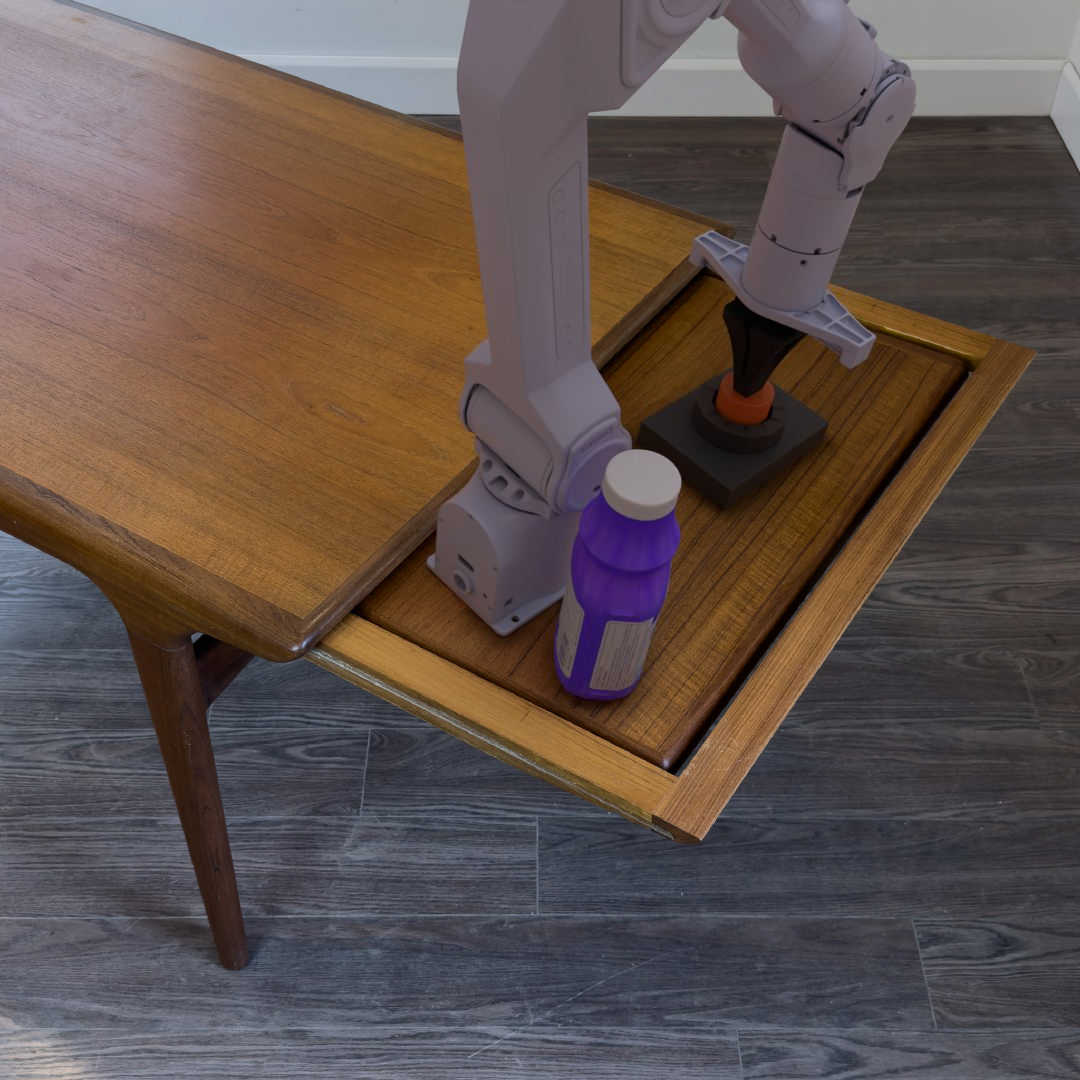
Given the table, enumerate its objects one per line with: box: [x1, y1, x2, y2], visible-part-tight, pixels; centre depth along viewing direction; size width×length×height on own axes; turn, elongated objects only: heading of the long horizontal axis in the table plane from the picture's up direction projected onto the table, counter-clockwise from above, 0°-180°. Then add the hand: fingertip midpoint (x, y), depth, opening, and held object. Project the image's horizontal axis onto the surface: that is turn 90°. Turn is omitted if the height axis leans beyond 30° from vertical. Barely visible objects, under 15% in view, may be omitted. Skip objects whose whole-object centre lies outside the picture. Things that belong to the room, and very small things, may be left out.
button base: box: [636, 366, 830, 511], centre depth 84 cm, size 12×9×4 cm
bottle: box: [553, 449, 682, 701], centre depth 64 cm, size 7×6×17 cm
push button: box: [715, 372, 775, 426], centre depth 82 cm, size 4×4×2 cm
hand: (747, 388), depth 82 cm, fingers closed, pressing on push button
